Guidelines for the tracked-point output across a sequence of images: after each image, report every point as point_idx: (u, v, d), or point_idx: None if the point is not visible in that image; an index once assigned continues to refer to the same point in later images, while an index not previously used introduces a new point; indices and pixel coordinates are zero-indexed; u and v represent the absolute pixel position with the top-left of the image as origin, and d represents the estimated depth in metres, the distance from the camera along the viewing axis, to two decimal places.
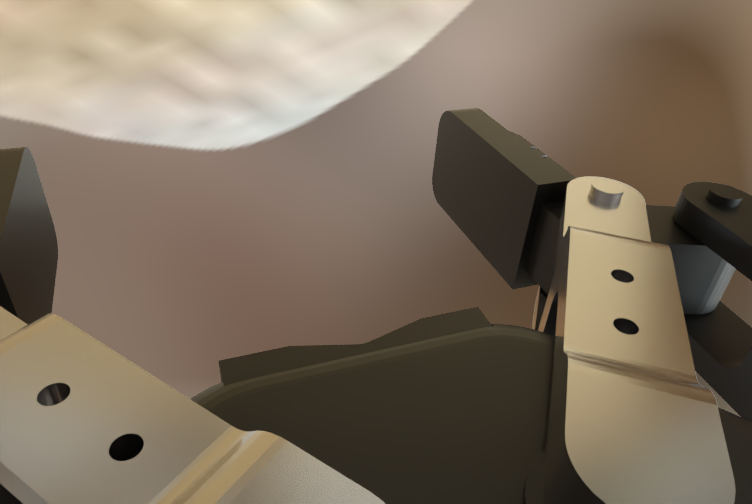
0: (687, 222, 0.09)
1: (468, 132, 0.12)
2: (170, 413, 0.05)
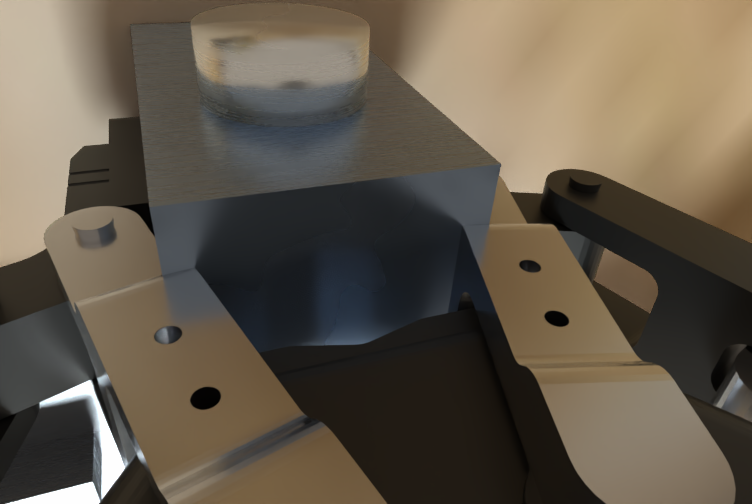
0: (559, 215, 0.09)
1: None
2: (251, 379, 0.05)
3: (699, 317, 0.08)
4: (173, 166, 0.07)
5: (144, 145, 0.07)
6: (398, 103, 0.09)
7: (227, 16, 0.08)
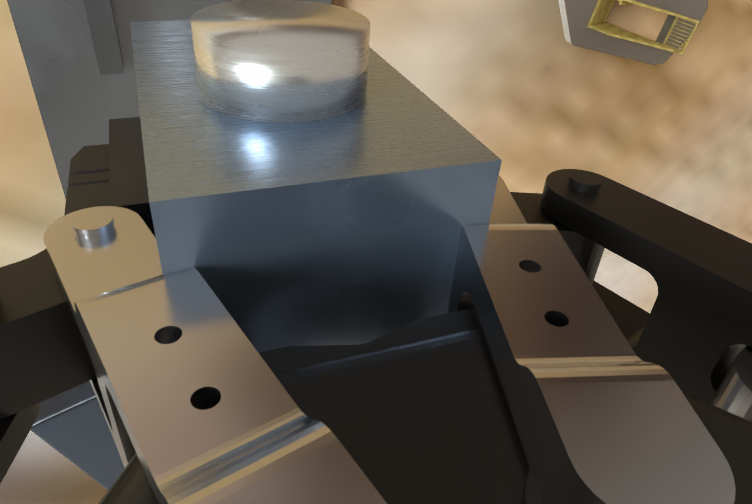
0: (559, 215, 0.09)
1: None
2: (251, 378, 0.05)
3: (699, 317, 0.08)
4: (173, 161, 0.07)
5: (144, 141, 0.07)
6: (398, 100, 0.09)
7: (227, 12, 0.08)
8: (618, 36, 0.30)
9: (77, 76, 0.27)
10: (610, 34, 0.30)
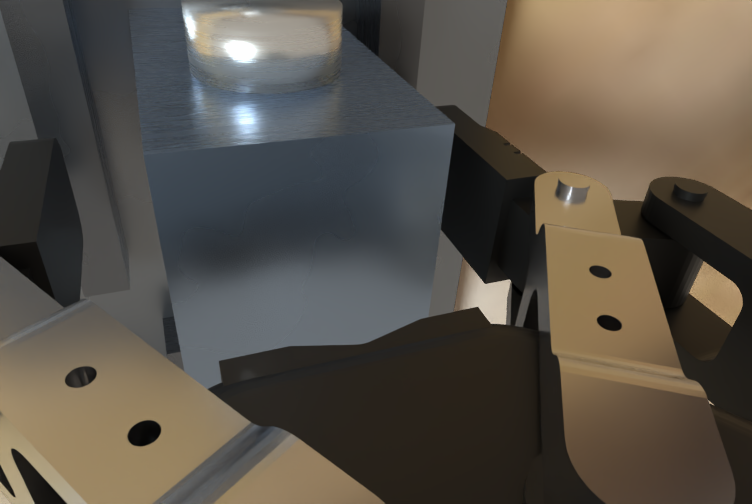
0: (656, 218, 0.09)
1: None
2: (188, 403, 0.05)
3: None
4: (165, 123, 0.07)
5: (139, 107, 0.08)
6: (369, 74, 0.09)
7: None
8: None
9: None
10: None
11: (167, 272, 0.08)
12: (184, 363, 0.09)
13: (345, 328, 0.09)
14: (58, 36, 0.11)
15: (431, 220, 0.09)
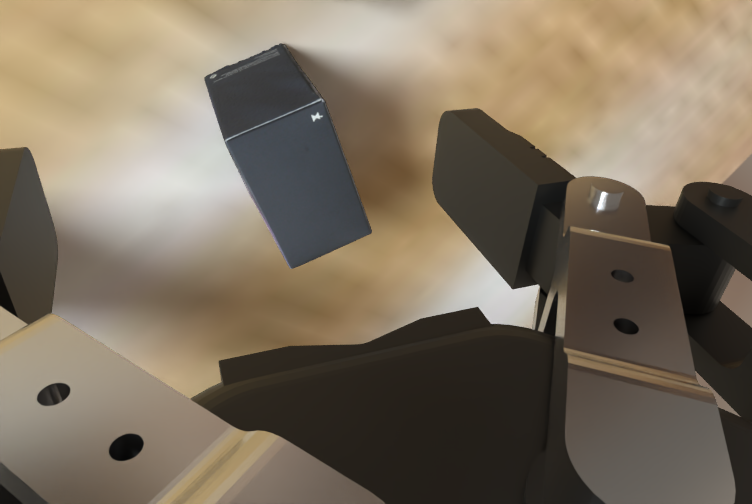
0: (687, 222, 0.09)
1: (468, 132, 0.12)
2: (169, 412, 0.05)
3: None
4: None
5: None
6: None
7: None
8: None
9: None
10: None
11: None
12: None
13: None
14: None
15: None
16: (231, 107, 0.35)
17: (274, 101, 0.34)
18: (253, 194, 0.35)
